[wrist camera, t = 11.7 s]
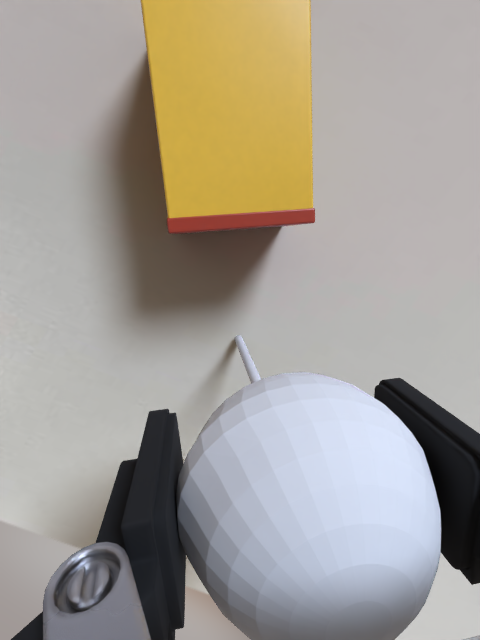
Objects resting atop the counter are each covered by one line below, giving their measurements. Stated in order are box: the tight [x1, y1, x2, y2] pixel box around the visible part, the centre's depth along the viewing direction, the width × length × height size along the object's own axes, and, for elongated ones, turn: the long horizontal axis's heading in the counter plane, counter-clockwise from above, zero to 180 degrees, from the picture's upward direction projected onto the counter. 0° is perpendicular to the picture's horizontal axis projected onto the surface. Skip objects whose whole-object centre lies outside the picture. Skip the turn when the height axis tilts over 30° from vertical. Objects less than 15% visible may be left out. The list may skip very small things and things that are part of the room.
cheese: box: [141, 0, 315, 234], centre depth 14 cm, size 9×6×5 cm
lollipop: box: [176, 335, 441, 640], centre depth 12 cm, size 6×6×15 cm
